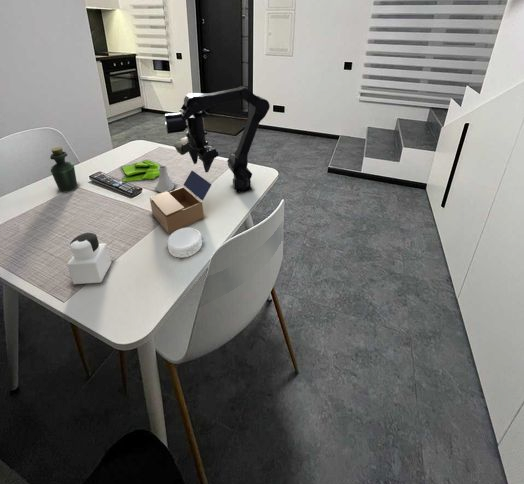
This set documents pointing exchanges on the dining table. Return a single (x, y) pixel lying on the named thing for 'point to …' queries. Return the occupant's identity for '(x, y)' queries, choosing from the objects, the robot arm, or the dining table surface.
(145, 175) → the cloth
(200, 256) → the dining table surface
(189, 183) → the flap
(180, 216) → the carton
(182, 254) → the white round disc
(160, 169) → the flask
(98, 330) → the dining table surface
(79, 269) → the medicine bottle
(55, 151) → the potion bottle
